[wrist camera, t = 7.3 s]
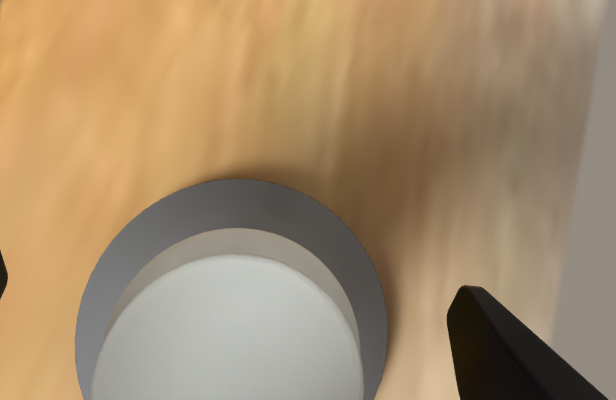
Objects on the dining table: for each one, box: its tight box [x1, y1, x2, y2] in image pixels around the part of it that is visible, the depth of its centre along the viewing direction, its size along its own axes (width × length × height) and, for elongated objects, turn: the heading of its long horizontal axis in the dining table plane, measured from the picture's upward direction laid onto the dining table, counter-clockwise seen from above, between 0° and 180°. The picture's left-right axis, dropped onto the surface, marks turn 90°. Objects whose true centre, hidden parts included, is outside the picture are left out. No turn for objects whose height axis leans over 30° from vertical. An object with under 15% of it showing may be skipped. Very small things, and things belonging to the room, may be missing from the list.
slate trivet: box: [75, 179, 388, 400], centre depth 16 cm, size 11×11×1 cm
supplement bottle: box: [90, 228, 364, 400], centre depth 11 cm, size 5×5×10 cm
